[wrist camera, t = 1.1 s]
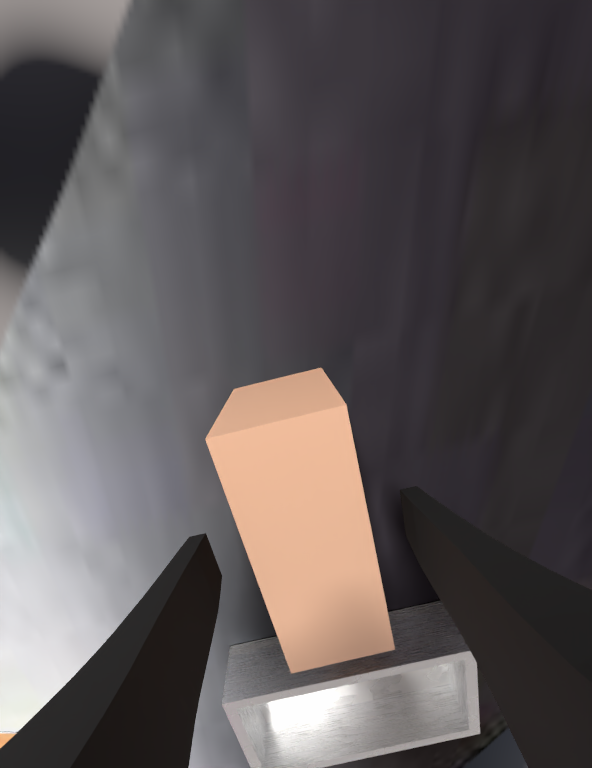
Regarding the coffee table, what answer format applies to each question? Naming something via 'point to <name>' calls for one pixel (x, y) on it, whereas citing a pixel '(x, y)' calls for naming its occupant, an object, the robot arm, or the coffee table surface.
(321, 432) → the peach rectangular prism
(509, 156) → the coffee table surface
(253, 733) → the gray rectangular tray
